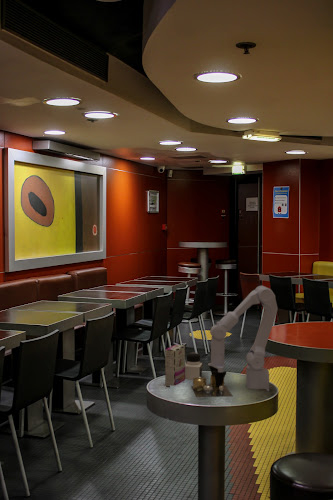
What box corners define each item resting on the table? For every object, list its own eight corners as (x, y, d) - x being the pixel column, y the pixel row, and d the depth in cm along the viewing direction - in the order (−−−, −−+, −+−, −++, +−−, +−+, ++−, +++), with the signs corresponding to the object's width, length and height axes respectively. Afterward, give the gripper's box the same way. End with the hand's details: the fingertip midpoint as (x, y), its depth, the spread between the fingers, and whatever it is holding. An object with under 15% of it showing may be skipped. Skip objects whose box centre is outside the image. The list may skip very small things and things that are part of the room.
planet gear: (222, 385, 253) (222, 373, 253) (225, 389, 247) (225, 377, 247) (209, 385, 252) (209, 374, 252) (211, 389, 247) (211, 377, 246)
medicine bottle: (199, 382, 261) (200, 355, 261) (184, 381, 263) (184, 354, 262) (202, 378, 268) (202, 352, 268) (186, 377, 270) (186, 351, 269)
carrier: (225, 387, 253) (225, 373, 252) (233, 398, 237) (233, 383, 236) (190, 388, 251) (190, 374, 251) (196, 399, 235) (196, 384, 235)
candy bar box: (175, 380, 264) (175, 344, 263) (185, 382, 262) (185, 345, 261) (164, 386, 254) (164, 348, 253) (174, 388, 251) (175, 350, 251)
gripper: (205, 349, 256) (205, 380, 257) (211, 357, 242) (210, 390, 242) (221, 349, 257) (221, 380, 257) (228, 357, 242) (227, 389, 243)
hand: (217, 385), depth 250 cm, fingers open, 7 cm apart
